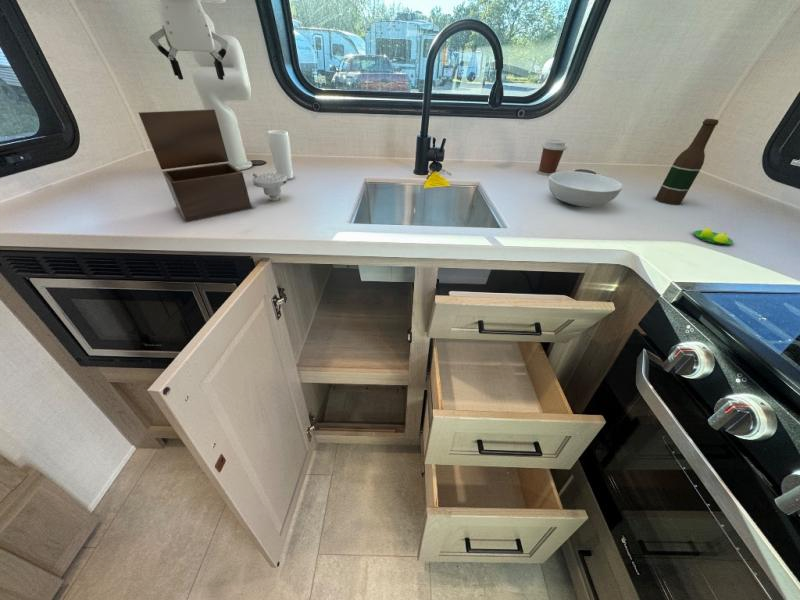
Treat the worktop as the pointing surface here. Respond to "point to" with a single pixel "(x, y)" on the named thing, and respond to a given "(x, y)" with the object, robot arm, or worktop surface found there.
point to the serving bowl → (583, 188)
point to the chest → (208, 190)
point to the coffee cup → (551, 156)
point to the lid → (184, 137)
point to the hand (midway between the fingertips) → (201, 79)
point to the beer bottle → (686, 167)
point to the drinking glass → (281, 152)
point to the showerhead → (270, 184)
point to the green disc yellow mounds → (713, 236)
